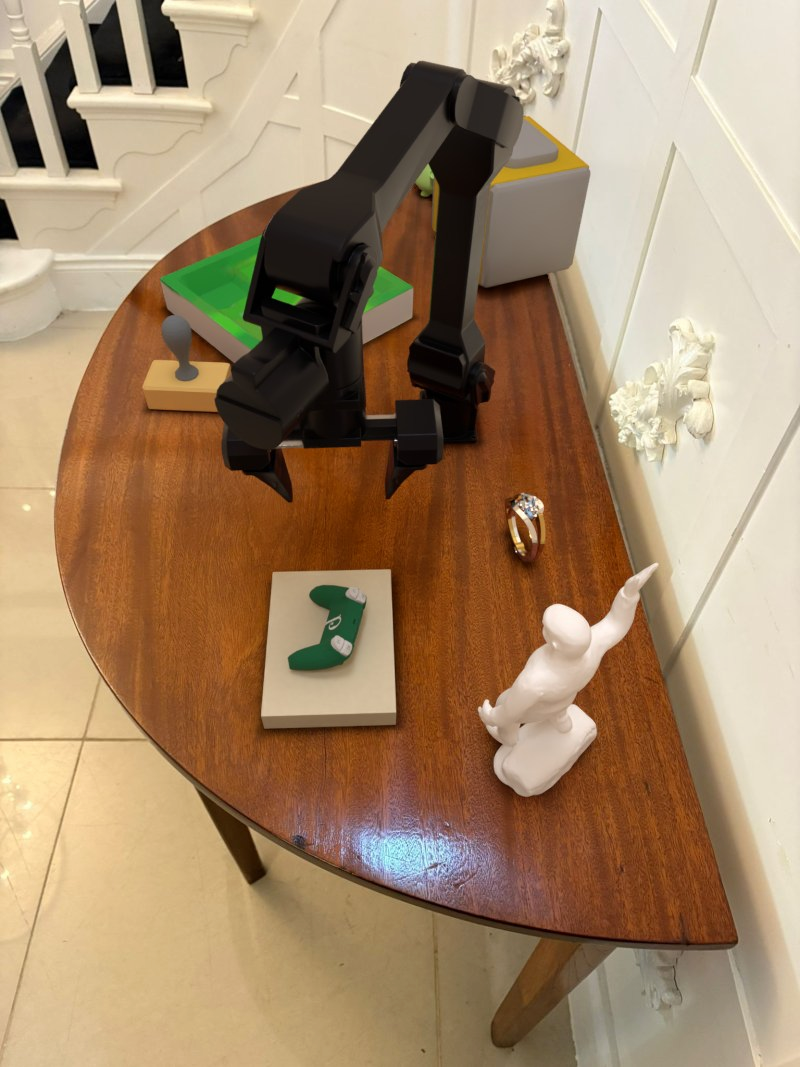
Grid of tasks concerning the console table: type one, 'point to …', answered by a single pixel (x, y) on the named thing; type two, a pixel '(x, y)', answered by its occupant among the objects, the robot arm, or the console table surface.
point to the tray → (223, 284)
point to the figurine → (555, 694)
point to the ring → (526, 514)
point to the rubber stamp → (182, 374)
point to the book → (340, 691)
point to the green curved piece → (333, 628)
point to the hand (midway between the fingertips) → (339, 497)
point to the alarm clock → (531, 209)
